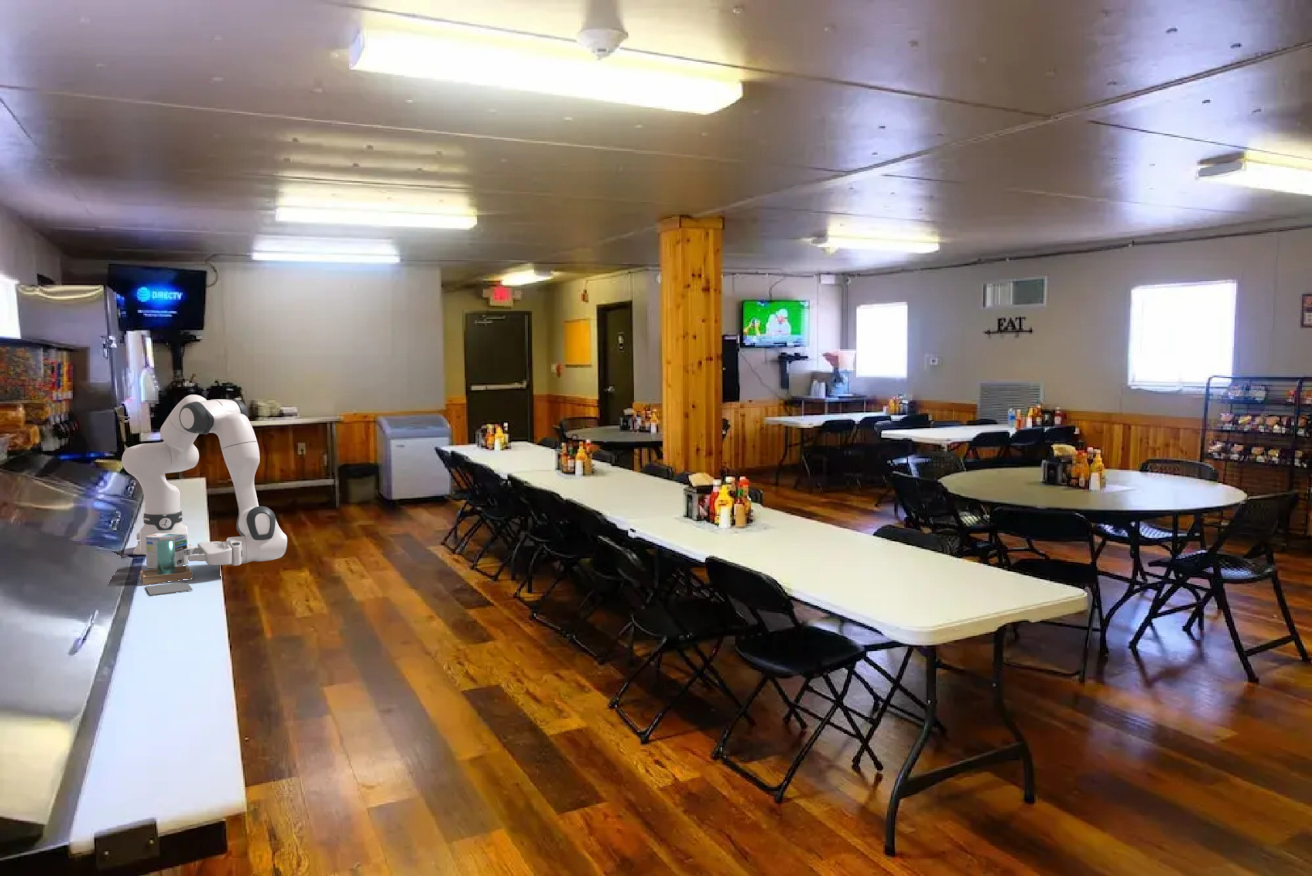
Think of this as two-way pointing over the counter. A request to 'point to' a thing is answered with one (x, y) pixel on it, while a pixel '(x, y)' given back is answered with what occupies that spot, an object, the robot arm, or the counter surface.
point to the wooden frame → (153, 578)
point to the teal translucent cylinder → (165, 557)
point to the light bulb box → (179, 546)
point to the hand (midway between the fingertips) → (186, 555)
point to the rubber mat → (167, 588)
